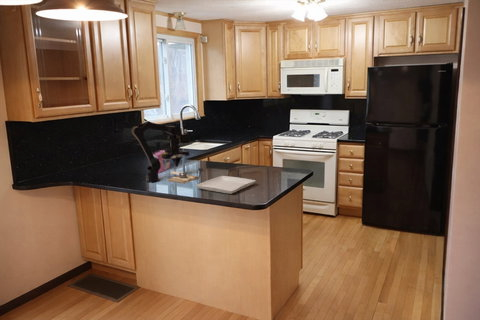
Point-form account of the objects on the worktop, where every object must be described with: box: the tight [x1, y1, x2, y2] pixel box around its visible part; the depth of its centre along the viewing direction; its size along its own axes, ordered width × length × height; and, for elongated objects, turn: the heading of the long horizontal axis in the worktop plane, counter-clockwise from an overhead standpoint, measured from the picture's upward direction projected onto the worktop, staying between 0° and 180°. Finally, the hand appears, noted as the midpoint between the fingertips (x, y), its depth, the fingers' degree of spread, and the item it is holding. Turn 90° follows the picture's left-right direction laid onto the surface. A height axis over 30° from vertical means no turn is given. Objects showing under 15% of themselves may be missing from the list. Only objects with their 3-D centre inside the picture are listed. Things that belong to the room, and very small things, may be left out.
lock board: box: [167, 174, 199, 184], centre depth 272 cm, size 15×14×2 cm
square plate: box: [195, 175, 256, 195], centre depth 248 cm, size 27×27×4 cm
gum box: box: [152, 149, 171, 174], centre depth 305 cm, size 24×8×14 cm, turn 169°
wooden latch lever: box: [170, 170, 188, 178], centre depth 273 cm, size 13×5×3 cm, turn 58°
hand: (176, 167), depth 277 cm, fingers closed
